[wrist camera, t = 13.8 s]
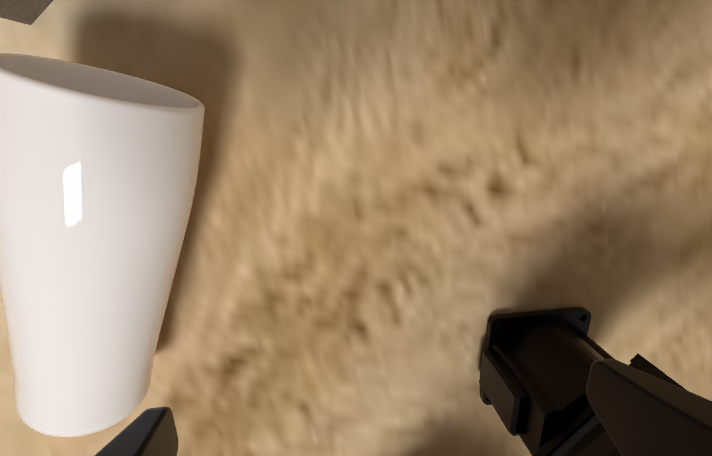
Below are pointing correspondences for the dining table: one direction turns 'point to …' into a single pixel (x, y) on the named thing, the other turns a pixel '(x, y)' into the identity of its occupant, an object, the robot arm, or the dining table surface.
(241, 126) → the dining table surface
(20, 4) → the grey slotted base block
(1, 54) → the drinking glass
